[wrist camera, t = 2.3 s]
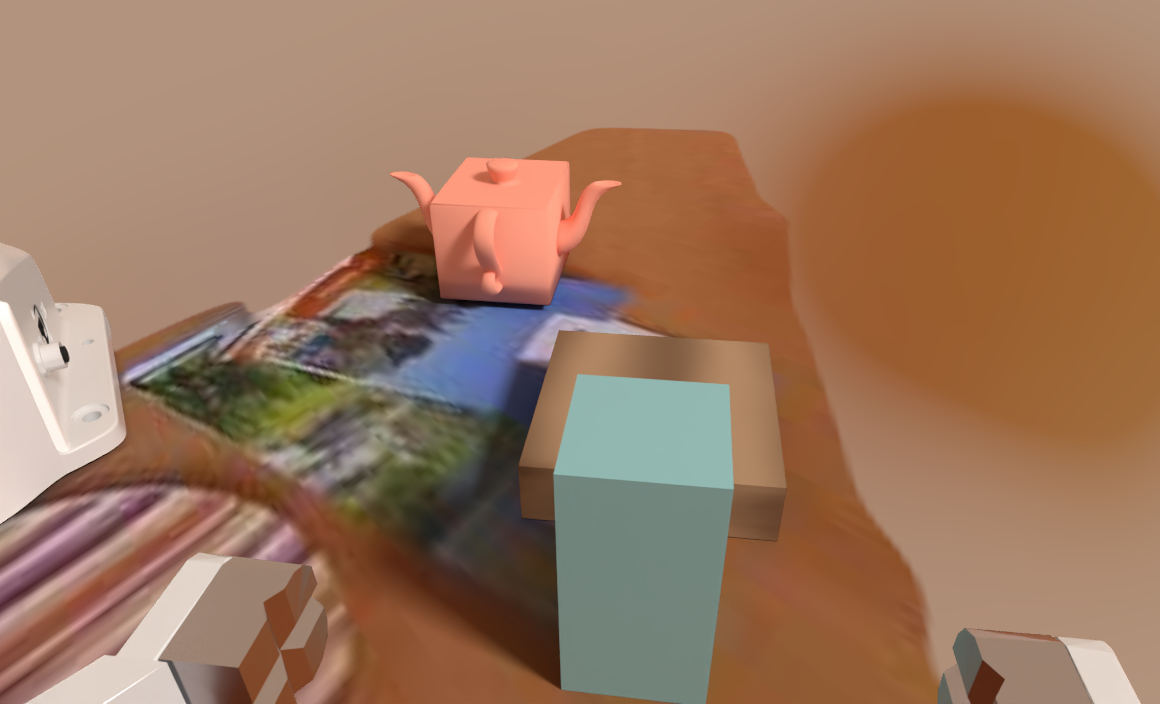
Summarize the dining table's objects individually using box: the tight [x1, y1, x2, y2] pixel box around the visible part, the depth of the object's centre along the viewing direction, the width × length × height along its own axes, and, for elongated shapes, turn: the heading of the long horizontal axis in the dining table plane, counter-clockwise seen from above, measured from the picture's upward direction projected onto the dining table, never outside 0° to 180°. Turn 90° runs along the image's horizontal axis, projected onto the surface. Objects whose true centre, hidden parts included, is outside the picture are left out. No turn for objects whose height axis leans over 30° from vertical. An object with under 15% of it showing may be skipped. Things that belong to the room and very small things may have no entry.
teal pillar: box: [553, 374, 734, 704], centre depth 27 cm, size 5×5×10 cm
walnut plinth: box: [518, 330, 787, 541], centre depth 38 cm, size 11×11×3 cm
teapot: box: [390, 157, 621, 305], centre depth 51 cm, size 12×15×8 cm
